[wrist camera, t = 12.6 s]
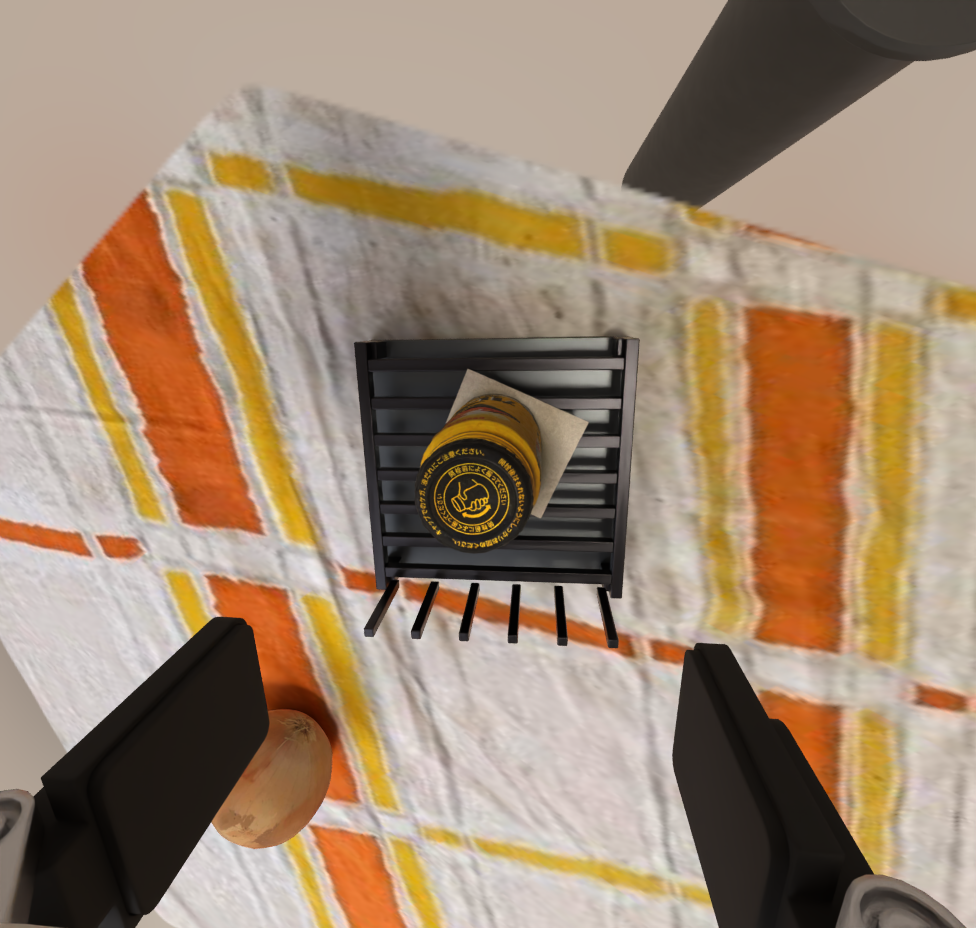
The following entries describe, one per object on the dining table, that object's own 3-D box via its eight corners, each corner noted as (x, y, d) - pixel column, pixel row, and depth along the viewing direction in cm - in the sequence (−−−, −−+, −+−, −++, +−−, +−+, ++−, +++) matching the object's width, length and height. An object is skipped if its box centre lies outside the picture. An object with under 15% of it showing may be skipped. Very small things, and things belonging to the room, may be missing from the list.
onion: (238, 746, 47) (162, 855, 37) (262, 668, 44) (186, 765, 34) (332, 783, 47) (280, 901, 38) (362, 707, 44) (314, 815, 35)
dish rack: (370, 340, 35) (312, 347, 26) (629, 336, 33) (664, 342, 24) (389, 567, 40) (346, 639, 31) (614, 575, 38) (638, 654, 29)
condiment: (467, 368, 31) (427, 396, 20) (588, 421, 31) (618, 480, 20) (427, 467, 33) (370, 544, 22) (540, 516, 34) (542, 618, 22)
